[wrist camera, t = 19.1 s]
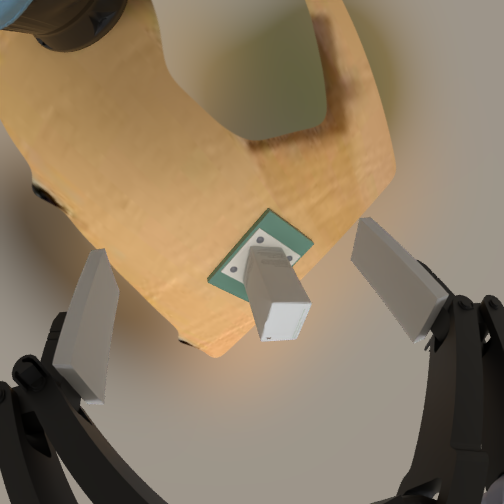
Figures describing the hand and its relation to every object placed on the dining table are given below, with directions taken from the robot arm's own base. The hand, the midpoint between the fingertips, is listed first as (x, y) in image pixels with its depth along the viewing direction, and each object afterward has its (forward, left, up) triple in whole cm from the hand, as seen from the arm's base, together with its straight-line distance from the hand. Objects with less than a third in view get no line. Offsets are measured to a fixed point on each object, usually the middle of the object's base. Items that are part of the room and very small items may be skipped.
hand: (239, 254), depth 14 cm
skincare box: (+9, -24, -30) cm, 40 cm away
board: (+9, -24, -32) cm, 41 cm away
